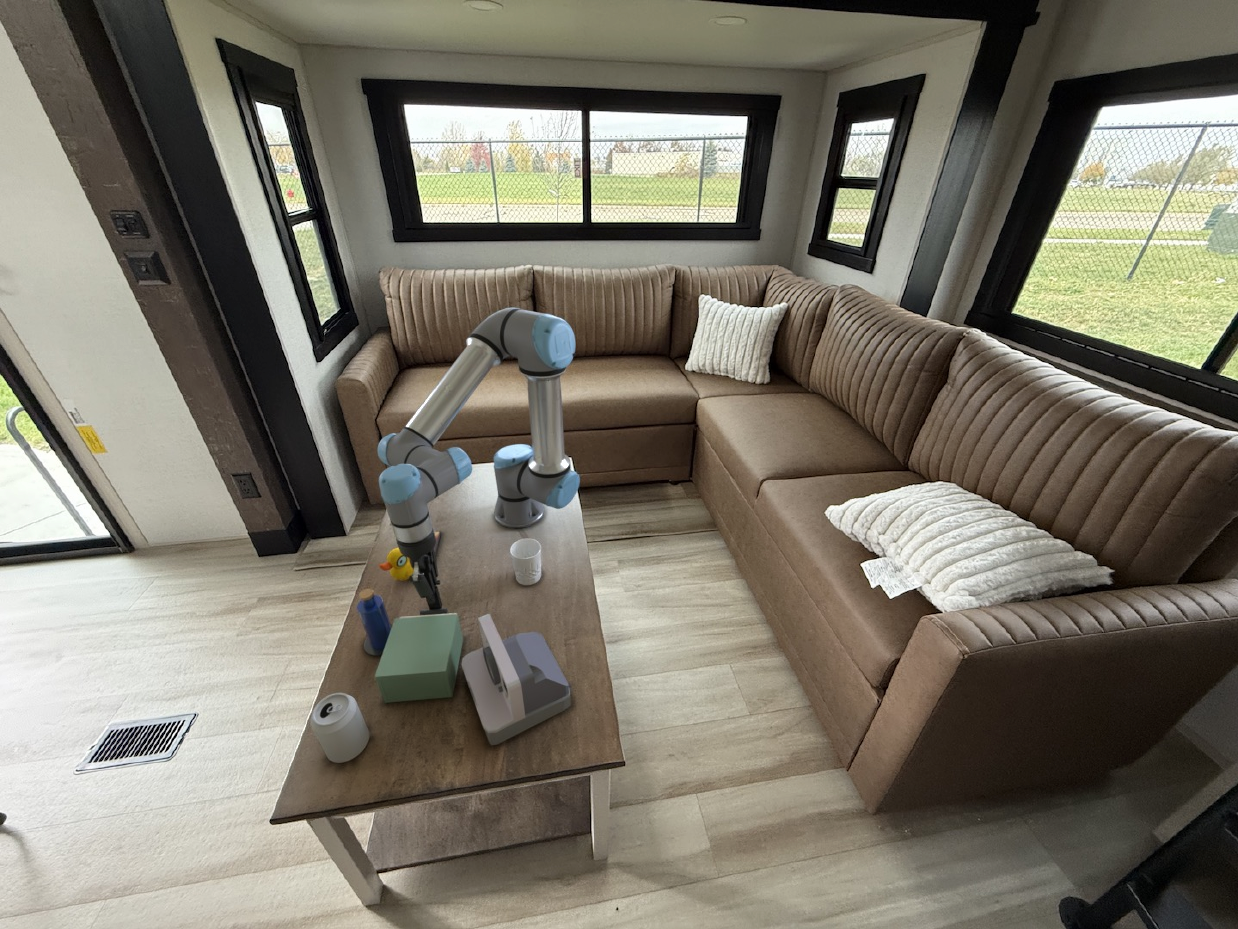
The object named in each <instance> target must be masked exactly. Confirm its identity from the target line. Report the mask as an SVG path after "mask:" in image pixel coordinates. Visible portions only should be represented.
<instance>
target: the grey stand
mask: <svg viewBox="0 0 1238 929" xmlns="http://www.w3.org/2000/svg"><path fill="white" fill-rule="evenodd" d="M477 621H478V626H479V632H480V637H481V643H482V647H481V648H478V649H475V650H474V651H470V652H469V653H467V654H465V656H463V657H462V658H461V669H462V672H463V674H464V677H465V680H466V682H467V686H468V688H469V691H470V694H471V697H472V699H473V702H474V705H475V708H476V711H477V713H478V717H479V719H480V722H481V726H482V728H483V730H484V732H485V736H486V738H487V741H488V743H489V744H490V746H497V745H500V744H501V743H503V742H505V741H507V740H508V739H511V738H513V737H515V736H517V735H519V734H521V733H523V732H524V731H526V730H529V729H531V728H533V727H534V726H536V725H538V724H541V723H543V722H544V721H546V720H549V719H550V718H552V717H555V716H557V715H559V714H560V713H562V712H565V711H566V710H567V709H568V708H570V707H571V706H572V705H571V704H572V703H571V693H572V687H571V685H570V682H569V681H568V680H567V678H566V676H565V675H564V673H563V670H562V669H561V667H560V665H559V664H558V662H557V660H556V658H555V656H554V654H553V653H552V650H551V648H550V647H549V644H548V642H547V640H545V638H544V636H543V635H542V634H541V633H540V632H537V631H529V632H521V633H516V634H514V635H512V636H510V637H507V638H505V639H502V638H501V636H500V633H499V632H498V630H497V626H496V624H495V623H494V620H493V618H492V616H491V614H490V613H487V614H484V615H481V616H479V617H478V618H477Z"/></svg>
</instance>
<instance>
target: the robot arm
mask: <svg viewBox="0 0 1238 929" xmlns="http://www.w3.org/2000/svg"><path fill="white" fill-rule="evenodd" d="M465 344H466V347H465V348H464V349H463V350H462V352H461V353H460V354H459V356H457V359H456V360H455V361H454V362H453V363H452V364H451V366H450V367H449V369H448V370H447V371H446V372H445V374H444V375H443V377H441V379H440V380H439V382H437V384H436V385H435V387H434V388H433V389H432V391H431V392H430V393H429V395H428V396H427V397H426V398H425V400H424V401H423V402H422V403H421V405H420V406H419V407H418V409H417V410H416V411H415V413H414V414H413V415H412V417H411V418H410V419H409V420H408V422H406V425H404V427H403V428H402V429H401V431H400V432H399V433H393V432H392V433H389V434H387V435H385V436H384V437H382V438H381V440H380V441H379V443H378V446H377V456H378V458H379V460H380V461H381V462H382V463H383V464H385V465H387V466H388V467H387V468H385V469H384V470H383V471H382V472H381V473H380V475H379V477H378V484H379V490H380V495H381V496H380V497H381V498H382V501H383V503H384V506H385V509H386V512H387V516H388V518H389V526H391V527H392V531H393V534H394V536H395V540H396V544H397V548H399V550H400V552H401V554H403V555H404V556H406V557H408V558H409V561H410V564H411V567H412V568H413V570H414V573H413V574H412V575H410V576H409V579H408V580H409V582H411V583H412V584H413V586H414V588H415V590H416V592H417V593H418V596H419V597H420V599H425V600H426V604H427V607H428V609H442V608H443V602H442V598H441V595H440V591H439V587H438V586H440V585H441V579H437V578H438V577H439V571H438V565H437V559H436V555H435V551H434V547H435V545H436V537H435V533H434V531H435V529H434V525H433V521H432V518H431V514H430V510H429V506H428V503H430V502H432V501H433V500H435V499H436V498H438V497H439V496H441V495H442V494H444V493H446V492H448V491H449V490H452V488H454V487H456V486H458V485H460V484H461V483H462V482H464V481H465V480H467V478H468V477H470V476H471V474H472V473H473V465H472V461H471V458H470V456H469V455H468V454H467V452H466V451H465V450H463V449H462V448H460V447H457V446H452V447H449V448H447V449H444V451H439V450H437V449H435V448H434V446H435V444H436V443H437V442H438V440H440V437H442V435H443V434H444V432H445V431H446V430H447V428H448V427H449V426H450V425H451V423H452V422H453V420H454V419H455V418H456V416H457V415H458V414H459V413H460V411H461V410H462V408H463V407H464V405H465V404H466V403H467V402H468V400H469V399H470V397H471V396H472V395H473V393H474V392H475V391H476V390H477V388H478V387H479V385H480V384H481V383H482V382H483V380H484V379H485V378H486V376H487V375H488V373H489V372H490V370H491V369H492V368H493V367H498V366H499V365H501V363H502V362H503V360H504V359H506V358H508V357H513V358H516V359H517V361H518V371H519V373H520V374H521V375H522V376H524V377H525V381H526V390H527V391H526V392H527V404H528V413H529V425H530V426H529V427H530V436H531V437H530V438H531V446H530V445H529V444H525V443H524V444H523V443H518V444H517V443H516V444H510V445H507V446H504V447H502V448H500V449H499V450H497V451H496V452H495V453H494V455H493V471H494V477H495V484H496V490H497V499H496V502H495V506H494V519H495V521H496V522H497V523H498V524H499V525H500V526H502V527H504V528H508V529H514V530H515V529H516V530H517V529H525V528H528V527H531V526H534V525H535V524H537V523H538V522H540V521H541V520H542V519H543V517H544V514H545V507H544V505H545V506H546V507H550V508H553V509H555V510H556V509H557V510H561V509H563V508H566V507H567V506H568V505H569V504H570V503H571V502H572V501H573V499H574V498H575V497H576V494H577V492H578V491H579V487H580V482H581V478H580V474H578V473H577V472H576V471H575V470H572V467H571V459H570V457H569V456H568V455H567V454H565V438H564V436H565V435H564V418H563V416H564V415H563V397H562V396H563V395H562V394H563V393H562V379H561V378H562V377H561V376H562V375H563V374H565V373H566V371H567V367H568V366H569V365H570V364H571V363H572V361H573V358H574V354H576V353H575V352H576V336H575V333H574V331H573V329H572V327H571V325H570V324H569V323H568V322H567V320H565V319H563V318H561V317H557V316H555V315H553V314H550V313H542V312H536V311H532V310H527V309H523V308H519V307H506V308H503V309H501V310H498V311H496V312H494V313H492V314H491V315H489V316H487V318H486V319H484V320H483V321H481V323H479V324H478V325H477V326H476V327H475V328H474V330H473V331H472V332H471V333H470V334H469V336H468V337H467V338H466V340H465Z"/></svg>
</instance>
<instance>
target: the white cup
mask: <svg viewBox="0 0 1238 929" xmlns="http://www.w3.org/2000/svg"><path fill="white" fill-rule="evenodd" d="M509 552H510V557H511V563H512V567H513V571H514V575H515V580H516V582H517V583H518V584H520V585H522V586H531V585H534V584H536V583H538V582H539V581H540V580H541V577H542V545H541V543H540V541H538V540H536V539H534V538H530V537H529V538H521V539H518V540H516V541H515V542H513V543H512V544H511V546H510V550H509Z"/></svg>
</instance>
